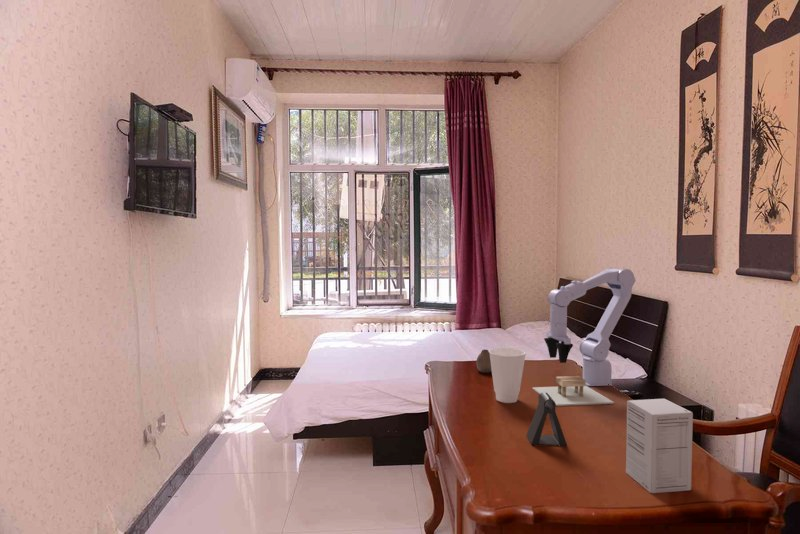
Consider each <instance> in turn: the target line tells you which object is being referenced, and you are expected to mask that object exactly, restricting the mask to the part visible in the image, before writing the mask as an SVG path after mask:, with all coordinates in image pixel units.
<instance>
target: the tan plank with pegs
mask: <svg viewBox="0 0 800 534" xmlns="http://www.w3.org/2000/svg"><path fill="white" fill-rule="evenodd" d="M555 383H556V384H557V387H558V393H559V394H561V393H562V396H563V397H566V387H574V386H575V393H578V386H579V396H583V386H585V383H586V380H584V379H583V377H581V376H580V375H575V376H574V375H571V376H565V375H564V376H555Z"/></svg>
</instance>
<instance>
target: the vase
mask: <svg viewBox="0 0 800 534" xmlns="http://www.w3.org/2000/svg"><path fill="white" fill-rule="evenodd" d="M489 351H490V350H489V349H482V350H481V351H480V353H479V354H478V356H477V358H476V363H475V364H476V368H477V370H478V371H479V372H480V373H485V374H487V373H488V374H489V373H492V369H491V361H490V353H489Z"/></svg>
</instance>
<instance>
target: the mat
mask: <svg viewBox="0 0 800 534" xmlns="http://www.w3.org/2000/svg"><path fill="white" fill-rule="evenodd" d="M531 389H532V390H534V392H536V393H537V394H538V395H539V394H540V393H542V392H543V394H544V395H545V396H546V398H547V399H549V397H548V396H547V395H546V393H548V394H549V395H550V397H551V398H552V399H553V400H554V402H555V403H556V407H566V406H588V405H593V406H594V405H614V404H615V402H614V401H612V399H609V398H608V397H606V396H604V395H602V394H601V393H599V392H597V391H596V390H594V389H593V388H591V387H590V386H587V385H585V386H583V396H579V386H578V393H575V386H574V387H566V397H563V396H562V393H561V394H559V393H558V386H535V387H532V388H531Z"/></svg>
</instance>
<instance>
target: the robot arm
mask: <svg viewBox="0 0 800 534" xmlns="http://www.w3.org/2000/svg"><path fill="white" fill-rule="evenodd" d="M636 281H637V280H636V277H635V275H634V273H633V271H632V270H631V269H629V268H624V269H623V268H616V267H609V268H607V269H603V270H601V272H598V273H597V274H595V275H593V276H591V277H589V278H587V279H585V280H584V281H580V280H572V281H570V283H569V284H566V285H565V286H564V285H562V286H560V288H559V289H552V290H551V291H550V292H549V293H548V296H547V298H546V299H547V302H548V303H549V305H550V306H549V309H550V310H549V312H550V313H549V329H550V330H547V331H546V337H545V338H543V340H544V341H545V344H546V346H547V350H548V356H549V358H550V359H551V358H557V355H558V361H559V363H561V364H566V363H567V360H568V357H569V354H570V352H571V350H572V348H573V347H574V344H573V343H571V342H572V341H571V340H572V339H571V338H570V337H569V336H568V335H567V334H568V333H567V332H568V330H567V329H568V327H567V325H568V324H567V323H568V306H569V305H570V303H571V302H572V301H574V300H577V299H578V298H581V297H583V296H585V295H586V294H587V291H588V290H591V289H594V288H596V287H599V286H601V285H603V284H606V285H607V286H608V288H609V289H610V290H611V291H612V294H613V296H612V298H611V299H610V301H609V303H608V305H607V306H606V308H605V310H604V312H603V314H602V316H601V318H600V320H599V322H598V323H597V326H595V328H594V331H592V332H590V333H588V334H587V335H586V337H585V338H584V339H583V340H581V342H580V343H579V345H578V346H579V347H578V350H579V352H580V354H582V355H581V357H582V378H583V379H584V380H586V383H585V385H586V386H587V387H598V386H599V387H600V386H601V387H603V386H606V387H607V386H613V383H612V370H613V369H612V364H611V361H610V360H609V359H607V358H608V356H609V351H610V347H611V344H612V343H611V342H610V339H609V338H610V337H611V335H612V333H613V331H614V329H615V327H616V326H617V324H618V321H619V320H620V318H621V316H622V314H623V312H624V311H625V309H626V307H627V306H628V304H629V302H630V300H631V298H632V293H633V292H632V291H633V287H634V285H635V282H636ZM606 383H607V384H606ZM608 384H609V385H608Z"/></svg>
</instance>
